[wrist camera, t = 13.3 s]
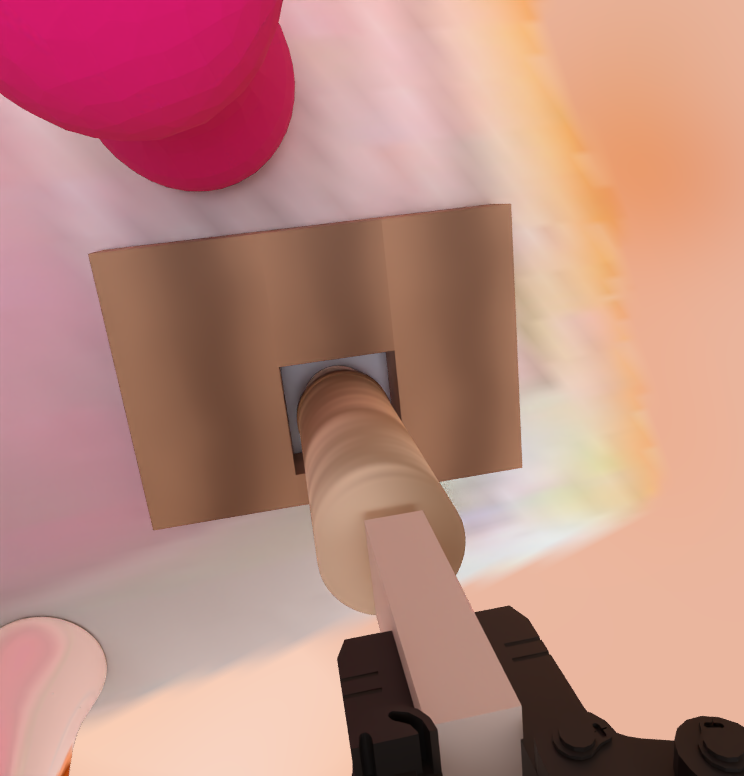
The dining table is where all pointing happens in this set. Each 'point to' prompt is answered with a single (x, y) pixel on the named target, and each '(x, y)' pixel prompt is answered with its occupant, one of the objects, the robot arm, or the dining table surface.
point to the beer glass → (45, 693)
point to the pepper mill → (156, 81)
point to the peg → (363, 479)
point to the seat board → (310, 349)
